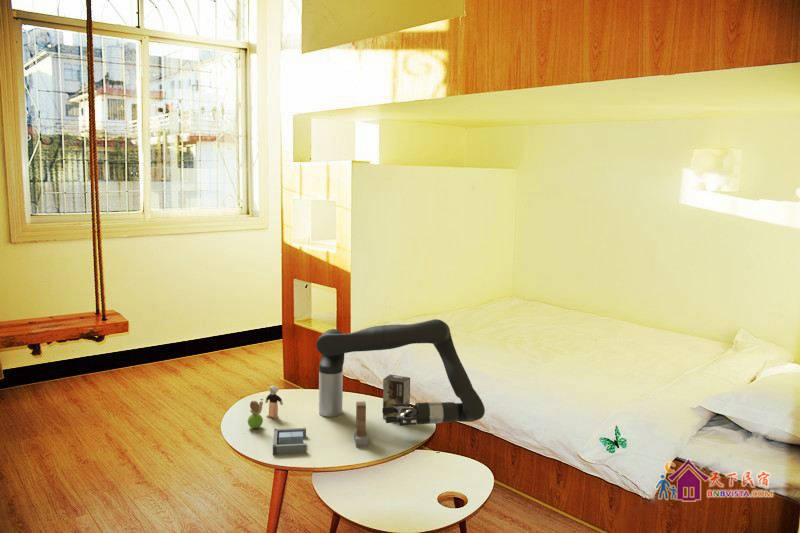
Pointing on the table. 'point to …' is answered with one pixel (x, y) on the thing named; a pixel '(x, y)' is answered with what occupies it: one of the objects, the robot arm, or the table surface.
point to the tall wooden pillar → (360, 425)
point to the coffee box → (395, 392)
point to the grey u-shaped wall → (288, 447)
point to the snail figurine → (255, 414)
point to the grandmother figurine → (273, 402)
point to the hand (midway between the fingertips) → (384, 415)
